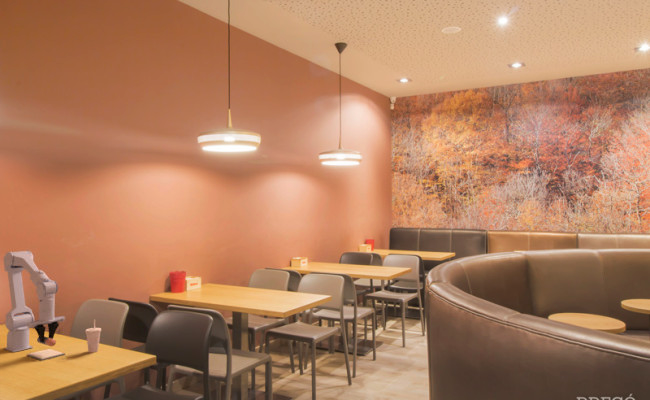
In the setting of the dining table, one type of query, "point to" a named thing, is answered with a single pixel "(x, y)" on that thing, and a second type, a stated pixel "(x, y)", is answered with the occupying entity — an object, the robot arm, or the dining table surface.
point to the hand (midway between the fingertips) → (46, 341)
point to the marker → (47, 341)
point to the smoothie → (93, 338)
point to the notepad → (45, 354)
